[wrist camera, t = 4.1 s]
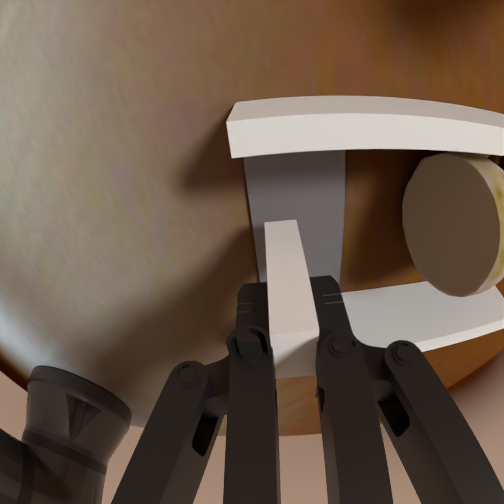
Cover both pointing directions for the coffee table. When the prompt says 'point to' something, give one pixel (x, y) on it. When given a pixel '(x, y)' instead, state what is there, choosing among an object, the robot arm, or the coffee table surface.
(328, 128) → the channel
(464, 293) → the mug
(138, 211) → the coffee table surface
